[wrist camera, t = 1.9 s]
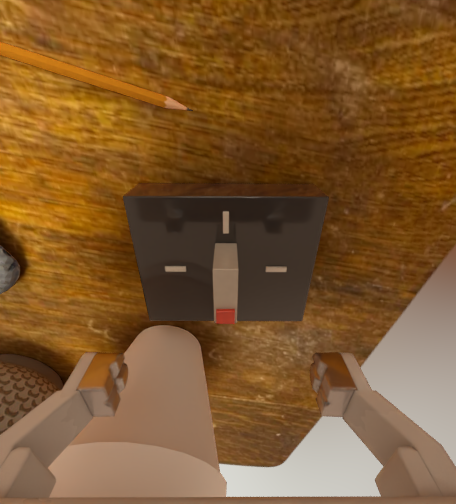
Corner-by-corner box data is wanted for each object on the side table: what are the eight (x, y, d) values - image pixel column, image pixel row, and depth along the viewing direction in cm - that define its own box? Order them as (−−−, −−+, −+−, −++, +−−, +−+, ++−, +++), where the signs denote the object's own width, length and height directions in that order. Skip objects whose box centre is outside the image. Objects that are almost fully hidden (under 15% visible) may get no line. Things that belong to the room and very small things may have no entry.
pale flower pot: (100, 296, 22) (-54, 518, 10) (236, 311, 23) (245, 531, 11) (112, 378, 28) (26, 577, 16) (219, 388, 29) (213, 582, 17)
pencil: (-186, -4, 12) (-212, -12, 11) (-195, -24, 12) (-221, -33, 11) (192, 117, 15) (191, 117, 14) (195, 104, 14) (193, 104, 14)
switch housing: (313, 183, 17) (330, 197, 14) (293, 296, 22) (303, 323, 19) (138, 182, 17) (120, 197, 14) (158, 295, 22) (148, 322, 19)
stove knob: (214, 242, 16) (212, 271, 13) (236, 242, 16) (238, 271, 13) (216, 291, 18) (213, 326, 15) (235, 292, 18) (237, 326, 15)
